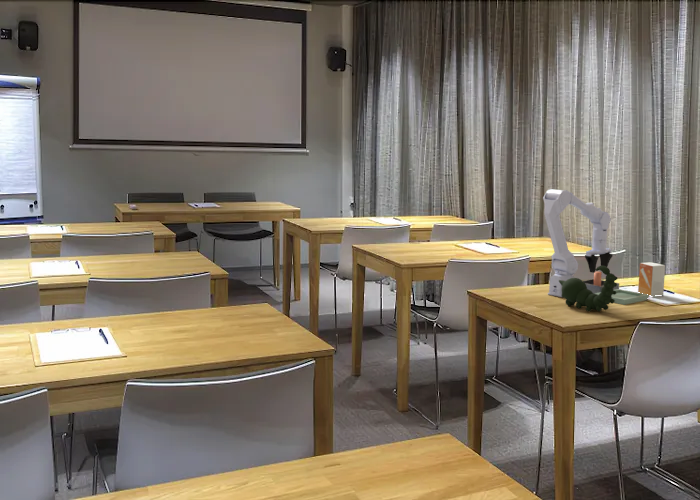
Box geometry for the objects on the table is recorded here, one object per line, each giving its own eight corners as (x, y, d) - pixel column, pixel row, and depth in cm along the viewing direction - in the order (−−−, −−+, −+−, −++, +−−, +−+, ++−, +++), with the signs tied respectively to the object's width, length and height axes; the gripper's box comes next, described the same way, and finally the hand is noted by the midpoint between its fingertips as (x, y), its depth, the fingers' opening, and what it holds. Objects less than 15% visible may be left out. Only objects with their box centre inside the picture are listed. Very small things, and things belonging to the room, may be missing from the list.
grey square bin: (600, 294, 301) (600, 286, 300) (575, 289, 311) (575, 281, 310) (618, 291, 308) (619, 283, 307) (593, 286, 318) (594, 278, 318)
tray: (624, 304, 283) (624, 299, 283) (593, 298, 294) (594, 293, 294) (648, 299, 292) (648, 294, 292) (618, 293, 303) (618, 289, 303)
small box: (637, 293, 304) (639, 262, 302) (650, 292, 306) (652, 261, 304) (650, 297, 296) (652, 265, 294) (663, 296, 298) (665, 265, 296)
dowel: (597, 291, 307) (598, 273, 306) (591, 290, 310) (592, 272, 309) (602, 290, 309) (603, 272, 308) (596, 289, 311) (597, 271, 310)
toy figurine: (617, 317, 270) (564, 299, 290) (624, 268, 265) (570, 253, 286) (601, 321, 264) (548, 302, 285) (608, 270, 260) (553, 255, 280)
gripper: (596, 242, 299) (595, 274, 301) (618, 239, 307) (616, 270, 309) (582, 240, 305) (581, 272, 307) (604, 237, 313) (602, 268, 315)
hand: (598, 271), depth 308 cm, fingers open, 7 cm apart
